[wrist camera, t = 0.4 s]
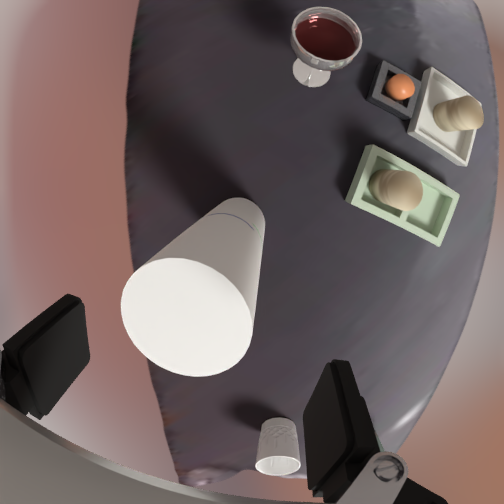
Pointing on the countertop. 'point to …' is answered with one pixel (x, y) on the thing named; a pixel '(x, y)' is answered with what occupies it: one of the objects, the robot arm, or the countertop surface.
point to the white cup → (278, 447)
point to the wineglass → (323, 44)
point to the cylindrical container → (199, 293)
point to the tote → (424, 126)
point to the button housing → (382, 99)
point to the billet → (458, 114)
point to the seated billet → (396, 188)
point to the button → (399, 87)
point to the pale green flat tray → (416, 221)
